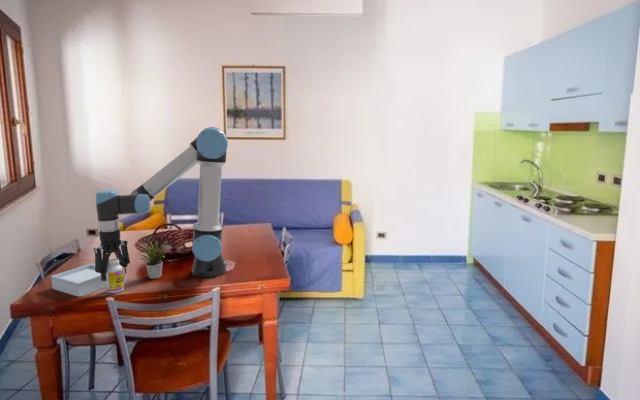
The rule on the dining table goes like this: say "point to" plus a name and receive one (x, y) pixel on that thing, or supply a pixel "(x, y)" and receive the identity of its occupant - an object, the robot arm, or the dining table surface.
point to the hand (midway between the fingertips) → (114, 284)
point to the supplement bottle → (115, 276)
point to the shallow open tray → (78, 281)
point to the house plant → (154, 260)
